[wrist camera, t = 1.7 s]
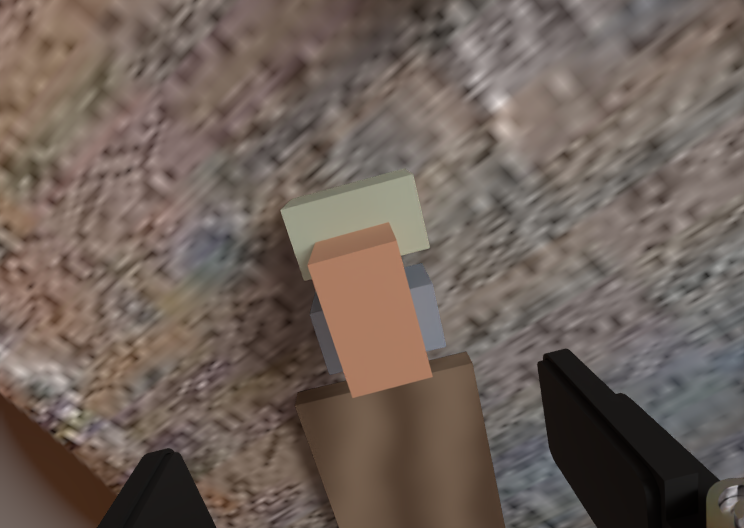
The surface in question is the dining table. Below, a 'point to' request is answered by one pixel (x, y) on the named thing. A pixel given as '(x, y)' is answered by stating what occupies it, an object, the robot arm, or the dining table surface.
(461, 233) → the dining table surface
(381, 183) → the sage brick
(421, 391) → the oak board
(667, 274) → the dining table surface
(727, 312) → the dining table surface
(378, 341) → the terracotta brick
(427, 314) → the slate brick
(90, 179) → the dining table surface
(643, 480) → the robot arm
